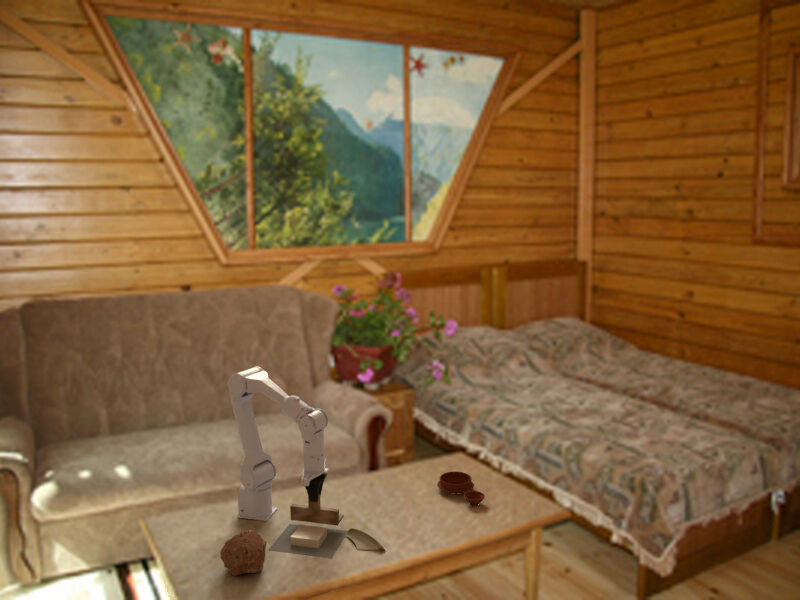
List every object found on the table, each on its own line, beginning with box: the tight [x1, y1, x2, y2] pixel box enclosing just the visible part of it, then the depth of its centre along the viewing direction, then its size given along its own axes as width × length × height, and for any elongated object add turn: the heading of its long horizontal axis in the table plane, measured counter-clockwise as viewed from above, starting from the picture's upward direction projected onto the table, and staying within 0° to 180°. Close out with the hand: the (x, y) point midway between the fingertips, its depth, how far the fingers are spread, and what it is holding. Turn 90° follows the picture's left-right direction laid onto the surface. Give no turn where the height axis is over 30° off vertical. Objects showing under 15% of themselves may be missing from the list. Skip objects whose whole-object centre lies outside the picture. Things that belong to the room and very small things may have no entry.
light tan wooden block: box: [291, 524, 328, 549], centre depth 197 cm, size 8×2×7 cm
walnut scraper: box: [289, 494, 345, 526], centre depth 203 cm, size 14×6×8 cm, turn 76°
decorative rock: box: [219, 529, 267, 576], centre depth 182 cm, size 13×11×10 cm
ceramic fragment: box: [345, 527, 386, 552], centre depth 195 cm, size 14×5×4 cm, turn 48°
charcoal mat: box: [268, 523, 348, 559], centre depth 197 cm, size 18×15×1 cm
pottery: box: [436, 471, 485, 507], centre depth 225 cm, size 12×20×4 cm, turn 27°
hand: (314, 499), depth 201 cm, fingers closed on walnut scraper
